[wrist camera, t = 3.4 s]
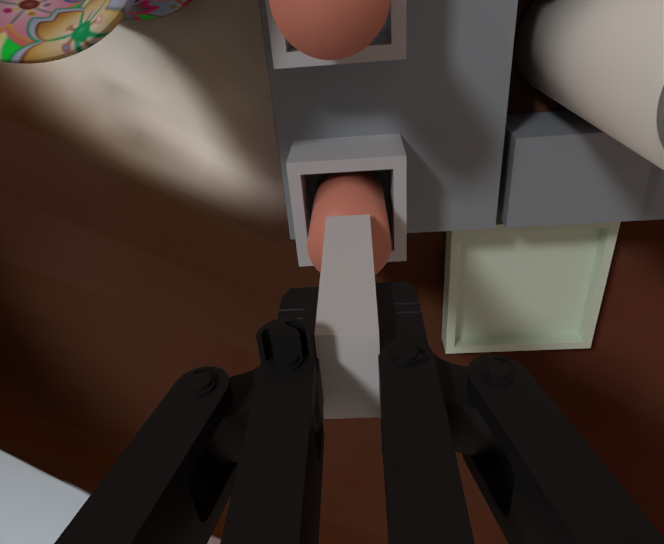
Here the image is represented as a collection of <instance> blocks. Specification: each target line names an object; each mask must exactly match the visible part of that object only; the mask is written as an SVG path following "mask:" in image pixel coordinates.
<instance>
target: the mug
mask: <svg viewBox="0 0 664 544" xmlns="http://www.w3.org/2000/svg"><path fill="white" fill-rule="evenodd" d="M190 1H192V0H0V61H2V62H9V63H29V64H30V63H42V62H49V61H54V60H59V59H62V58H65V57H68V56H71V55H74V54H77V53H79V52H81V51H83V50H85V49H87V48H89V47H91V46H92V45H94V44H95V43H97V42H99V41H100V40H101V39H103V38H104V37H105V36H106V35H107V34H109V33H110V32H111V31H112V30H113V29H114V28H115V27H116V26H117V25H118V24H119V23H120V22H121V21H122V20H123V18H124V19H131V20H148V19H155V18H160V17H163V16H166V15H169V14H171V13H173V12H176V11H178V10H179V9H181V8H182V7H184V6H185V5H187V4H188V3H189V2H190Z"/></svg>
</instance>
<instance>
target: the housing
mask: <svg viewBox="0 0 664 544" xmlns="http://www.w3.org/2000/svg"><path fill="white" fill-rule="evenodd" d="M259 6H260V13H261V21H262V28H263V36H264V43H265V51H266V58H267V66H268V73H269V81H270V88H271V96H272V104H273V111H274V119H275V126H276V134H277V141H278V149H279V156H280V164H281V171H282V179H283V186H284V194H285V202H286V209H287V217H288V224H289V232H290V239H296V246H297V254H298V262H299V266H314V265H313V264H312V262H311V260H310V258H309V255H308V250H307V242H308V235H309V228H310V222H311V216H312V209H313V203H314V196H315V191H316V187H317V185H318V183H319V181H320V179H321V178H322V177H323V176H324V175H325V174H326V173H337V172H353V171H371V172H372V173H373V174H374V175H375V176H376V177H377V178H378V179H379V181H380V183H381V185H382V187H383V191H384V198H385V204H386V211H387V217H388V224H389V231H390V237H391V253H390V256H389V259H388V261H387V262H397V261H407V233H419V232H438V231H456V230H475V229H493V228H495V226H496V216H497V214H498V215H499V217H500V219H501V220H502V222H503V224H504V225H505V227H506V228H512V227H530V226H549V225H567V224H586V223H604V222H623V221H641V220H660V219H664V170H663V169H661V168H659V167H658V166H656V165H655V164H653V163H652V162H650V161H648V160H647V159H645V158H644V157H642V156H641V155H639V154H637V153H636V152H634V151H633V150H631V149H630V148H628V147H627V146H625V145H623V144H622V143H620V142H619V141H617V140H616V139H614V138H612V137H611V136H609V135H608V134H606V133H605V132H603V131H601V130H600V129H598V128H597V127H595V126H594V125H592V124H591V123H589V122H587V121H586V120H584V119H583V118H581V117H580V116H578V115H576V114H575V113H573V112H572V111H570V110H563V111H548V112H534V113H519V114H507V106H508V96H509V86H510V76H511V66H512V56H513V46H514V36H515V26H516V16H517V6H518V0H391V3H390V9H389V12H388V16H387V18H386V21H385V23H384V25H383V27H382V29H381V30H380V32H379V33H378V35H377V36H376V38H375V39H374V40H373V41H372V42H371V43H370V44H369V45H368V46H367V47H365V48H364V49H363V50H361V51H360V52H358V53H357V54H355V55H352V56H350V57H347V58H344V59H339V60H321V59H317V58H313V57H310V56H308V55H306V54H304V53H302V52H300V51H299V50H297V49H296V48H295V47H294V46H292V45H291V44H290V43H289V42H288V41H287V40H286V39H285V37H284V36H283V35H282V33H281V32H280V30H279V28H278V27H277V25H276V23H275V20H274V18H273V15H272V12H271V9H270V3H269V0H259Z"/></svg>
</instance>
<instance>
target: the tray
mask: <svg viewBox="0 0 664 544" xmlns="http://www.w3.org/2000/svg"><path fill="white" fill-rule="evenodd" d="M619 227H620V222H604V223H586V224H567V225H549V226H530V227H512V228H506V227H505V225H504V224H503V222H502V220H501V219H500V217H499V215H498V214H497V216H496V226H495V228H493V229H475V230H456V231H446V252H445V274H444V296H443V318H442V341H443V345H444V349H445V353H446V354H451V353H477V352H503V351H529V350H555V349H581V348H591V344H592V339H593V335H594V331H595V327H596V323H597V318H598V314H599V310H600V306H601V302H602V298H603V293H604V289H605V285H606V281H607V277H608V273H609V268H610V264H611V260H612V256H613V252H614V247H615V243H616V239H617V235H618V231H619Z"/></svg>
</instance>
